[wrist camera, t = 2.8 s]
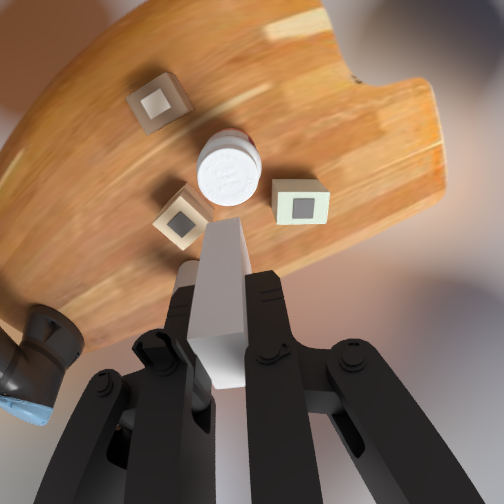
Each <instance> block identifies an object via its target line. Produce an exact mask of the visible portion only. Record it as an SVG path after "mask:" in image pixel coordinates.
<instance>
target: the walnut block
mask: <svg viewBox="0 0 504 504" xmlns="http://www.w3.org/2000/svg"><path fill="white" fill-rule="evenodd" d="M125 99H126V100H127V102H128V104H129V106H130V107H131V109H132V111H133V112H134V114H135V116H136V118H137V119H138V121H139V123H140V124H141V126H142V128H143V129H144V131H145V133H146V134H147V136H148V135H150V134H152V133H154V132H156V131H158V130H159V129H161V128H163V127H164V126H166V125H168V124H169V123H171V122H173V121H174V120H176V119H178V118H180V117H181V116H183V115H185V114H187V113H188V112H190V111H192V110H194V109H195V108H194V107H193V105H192V103H191V101H190V100H189V98H188V96H187V94H186V93H185V91H184V89H183V87H182V86H181V84H180V82H179V80H178V79H177V77H176V75H174V74H171V73H168V72H165V73H163V74H161V75H160V76H158V77H157V78H155V79H153V80H152V81H150V82H149V83H147V84H146V85H144V86H142V87H141V88H139V89H138V90H136V91H135V92H134V93H132V94H131V95H129V96H128V97H126V98H125Z"/></svg>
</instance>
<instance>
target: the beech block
mask: <svg viewBox="0 0 504 504" xmlns="http://www.w3.org/2000/svg"><path fill="white" fill-rule="evenodd" d="M213 215H214V208H213V207H212V206H211V205H210V204H209V203H208V202H207V201H206V200H205V199H204V198H203V197H202V196H201V195H200V194H199V193H198V192H197V191H196V190H195V189H194V188H193V187H192V186H191V185H190V184H189V183H186V184H185V185H184V186H183V187H182V188H181V189H180V190H179V191H178V192H177V193H176V194H175V195H174V196H173V197H172V198H171V199H170V200H169V201H168V202H167V203H166V204H165V205H164V206H163V207H162V208H161V210H160V211H159V213H158V215H157V217H156V219H155V220H154V222H153V225H154V226H155V227H156V228H157V229H159V230H160V231H161V232H162V233H163V234H164V235H165V236H167V237H168V238H169V239H170V240H171V241H172V242H173V243H175V244H176V245H177V246H178V247H179V248H180V249H182V250H184V249H186V248H187V247H188V246H189V245H190V244H191V243H192V242H193V241H195V240H196V239H197V238H198V237H199V236H200V235H201V234H203V233H204V232H205V229H206V224H207V223H211V222H213Z"/></svg>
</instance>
